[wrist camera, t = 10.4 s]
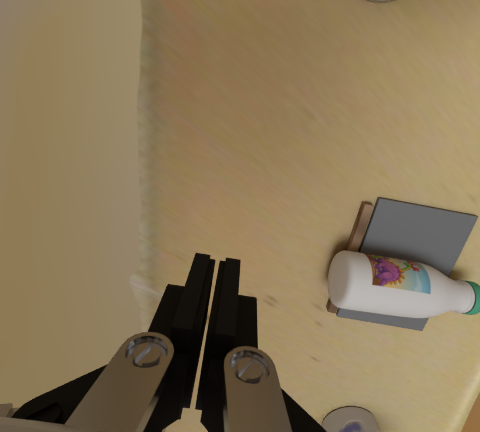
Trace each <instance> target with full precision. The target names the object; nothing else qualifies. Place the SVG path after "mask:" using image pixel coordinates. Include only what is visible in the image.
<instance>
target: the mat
mask: <svg viewBox="0 0 480 432" xmlns="http://www.w3.org/2000/svg"><path fill="white" fill-rule="evenodd" d="M477 218H478V216H476V215H472V214H466V213H461V212H455V211H450V210H445V209H439V208H434V207H429V206H423V205H418V204H412V203H407V202H402V201H396V200H391V199H386V198H380V197H378V199H377V202H376V204H375V207H374V210H373V213H372V216H371V218H370V221H369V224H368V227H367V229H366V232H365V235H364V238H363V241H362V243H361V246H360V249H359V253H365V254H371V255H378V256H384V257H390V258H396V259H402V260H408V261H413V262H418V263H422V264H425V265H428V266H430V267H433V268H435V269H436V270H438V271H440V272H441V273H442V274H444V275H445V276H447V277H449V275H450V273H451V271H452V269H453V267H454V265H455V263H456V261H457V259H458V257H459V255H460V253H461V251H462V249H463V247H464V245H465V243H466V241H467V239H468V237H469V235H470V233H471V231H472V229H473V226H474V224H475V222H476V220H477ZM336 315H337V317H343V318H349V319H355V320H361V321H366V322H372V323H378V324H384V325H390V326H396V327H402V328H408V329H414V330H419V331H422V330H423V328H424V326H425V324H426V322H427V320H428V318H410V317H400V316H393V315H385V314H378V313H370V312H363V311H356V310H349V309H343V308H338V310H337V313H336Z"/></svg>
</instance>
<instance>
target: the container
mask: <svg viewBox="0 0 480 432" xmlns="http://www.w3.org/2000/svg"><path fill="white" fill-rule="evenodd" d="M322 427H323V428H324V429H325V430H326V431H327V432H380V431H379V428H378V426H377V423H376V420H375V418H374V416H373V415H372V414H371V413H370V412H368V411H367V410H364V409H362V408H357V407H345V408H340V409H337V410H335V411H333V412H331V413H330V414H329V415H327V416H326V418H325V419H324V421H323V423H322Z"/></svg>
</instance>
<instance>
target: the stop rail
mask: <svg viewBox="0 0 480 432" xmlns="http://www.w3.org/2000/svg"><path fill="white" fill-rule="evenodd" d="M373 207H374V206H373V205H372V204H371V203H368V202H363V201H362V204H361V207H360V210H359V213H358V216H357V219H356V222H355V225H354V227H353V230H352V233H351V236H350V239H349V242H348V245H347V248H346V251H352V252H358V249H359V246H360V243H361V240H362V238H363V235H364V232H365V229H366V226H367V224H368V221H369V218H370V215H371V213H372V210H373ZM326 308H327V310H328V312H332V313H336V310H337V308H338V307H336V306H335V305H334V304H333V303H332V302H331V300H330V298H329V301H328V304H327V306H326Z"/></svg>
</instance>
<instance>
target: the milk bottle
mask: <svg viewBox="0 0 480 432" xmlns="http://www.w3.org/2000/svg"><path fill="white" fill-rule="evenodd" d="M328 293H329V297H330V300H331V302H332V303H333V304H334V305H335V306H336V307H338V308H343V309H349V310H356V311H363V312H370V313H378V314H385V315H393V316H400V317H410V318H429V317H433V316H436V315H439V314H442V313H444V312H448V311H455V312H457V313H462V314H468V315H474V314H477V313H479V312H480V286H479V285H478V284H476V283H474V282H471V281H463V280H452V279H450V278H448V277H447V276H445V275H444V274H442V273H441V272H440V271H438V270H436V269H435V268H433V267H430V266H428V265H425V264H422V263H418V262H413V261H408V260H402V259H396V258H390V257H384V256H378V255H371V254H365V253H359V252H352V251H341V252H338V253H337V254H336V255H335V256H334V258H333V260H332V262H331V265H330V268H329V273H328Z"/></svg>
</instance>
